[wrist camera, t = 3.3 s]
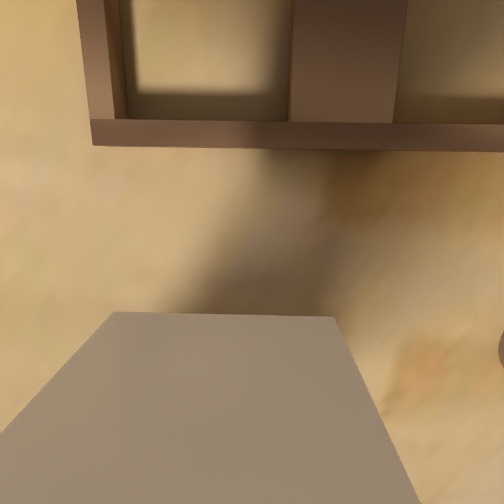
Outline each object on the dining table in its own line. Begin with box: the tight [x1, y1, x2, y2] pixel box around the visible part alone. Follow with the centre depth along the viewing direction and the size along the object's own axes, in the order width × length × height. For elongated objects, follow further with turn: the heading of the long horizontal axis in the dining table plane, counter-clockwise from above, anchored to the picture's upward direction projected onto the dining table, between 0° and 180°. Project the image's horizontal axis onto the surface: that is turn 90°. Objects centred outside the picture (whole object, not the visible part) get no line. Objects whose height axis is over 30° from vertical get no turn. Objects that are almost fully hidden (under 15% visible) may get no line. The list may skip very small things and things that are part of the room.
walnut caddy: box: [76, 0, 504, 152], centre depth 13 cm, size 9×20×2 cm, turn 89°
